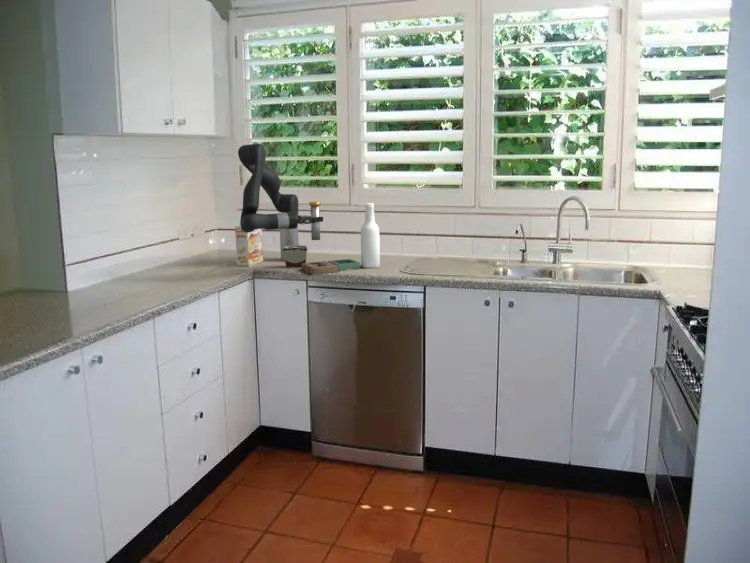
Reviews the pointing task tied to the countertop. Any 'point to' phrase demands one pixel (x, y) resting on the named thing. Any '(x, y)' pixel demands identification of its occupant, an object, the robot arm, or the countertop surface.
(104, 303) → the countertop surface
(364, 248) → the alcohol
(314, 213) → the pin
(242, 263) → the coffeecake box
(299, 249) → the food container
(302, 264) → the block
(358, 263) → the tray
